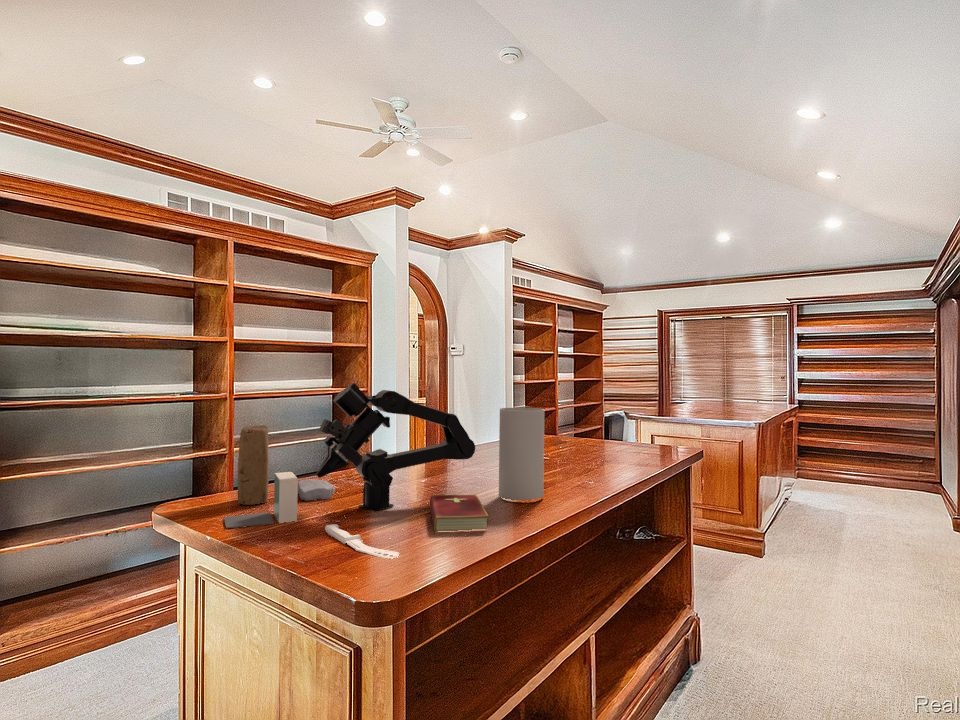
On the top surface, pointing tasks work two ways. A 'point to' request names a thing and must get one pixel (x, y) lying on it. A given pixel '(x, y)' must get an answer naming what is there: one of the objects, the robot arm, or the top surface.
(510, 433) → the cylinder vase
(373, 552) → the knife
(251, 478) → the block
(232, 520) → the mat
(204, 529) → the top surface
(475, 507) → the hardcover book
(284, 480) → the off-white thick block
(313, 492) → the stone block
